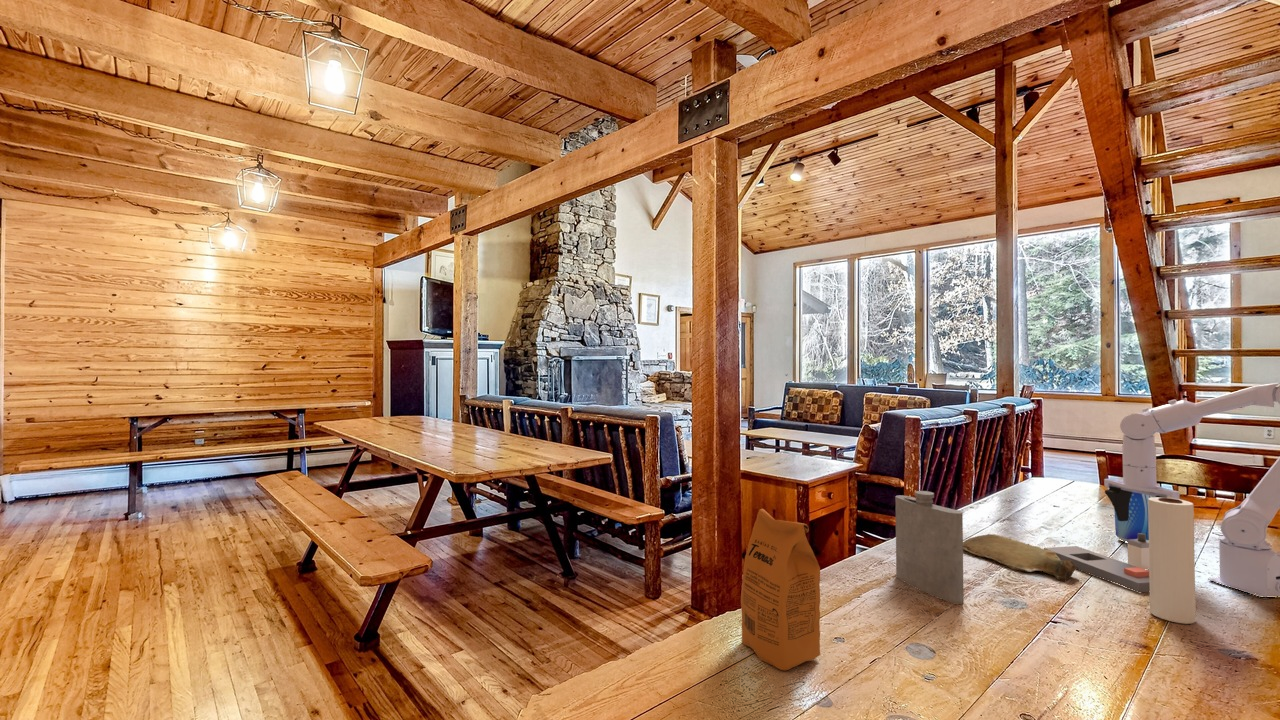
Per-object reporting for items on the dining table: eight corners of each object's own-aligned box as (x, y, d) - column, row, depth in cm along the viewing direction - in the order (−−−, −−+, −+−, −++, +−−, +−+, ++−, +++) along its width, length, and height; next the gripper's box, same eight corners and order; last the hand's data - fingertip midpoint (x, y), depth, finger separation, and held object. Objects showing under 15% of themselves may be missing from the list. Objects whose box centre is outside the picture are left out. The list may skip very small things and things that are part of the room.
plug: (1156, 569, 125) (1156, 535, 125) (1141, 570, 124) (1141, 536, 124) (1142, 564, 128) (1142, 531, 128) (1127, 565, 127) (1127, 532, 127)
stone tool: (1091, 574, 120) (983, 542, 144) (1089, 556, 120) (981, 527, 144) (1057, 590, 116) (951, 554, 139) (1054, 571, 116) (949, 538, 139)
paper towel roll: (1180, 626, 97) (1178, 504, 97) (1141, 612, 103) (1139, 497, 103) (1209, 621, 99) (1206, 502, 99) (1168, 607, 105) (1166, 494, 105)
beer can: (1169, 546, 139) (1165, 483, 139) (1135, 548, 139) (1132, 484, 139) (1139, 536, 147) (1135, 476, 148) (1107, 538, 147) (1104, 477, 148)
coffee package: (779, 628, 98) (778, 503, 98) (830, 662, 86) (828, 521, 86) (731, 639, 94) (730, 509, 94) (777, 677, 82) (776, 528, 82)
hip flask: (967, 602, 108) (966, 499, 108) (951, 605, 106) (950, 501, 107) (904, 573, 123) (903, 483, 123) (889, 576, 121) (888, 484, 122)
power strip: (1176, 590, 113) (1176, 575, 113) (1138, 593, 112) (1138, 578, 112) (1076, 554, 135) (1076, 541, 135) (1043, 556, 133) (1043, 543, 133)
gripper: (1190, 470, 120) (1191, 533, 120) (1120, 459, 135) (1121, 515, 134) (1164, 472, 119) (1165, 535, 119) (1096, 461, 133) (1097, 517, 133)
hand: (1140, 525), depth 126 cm, fingers open, 7 cm apart
